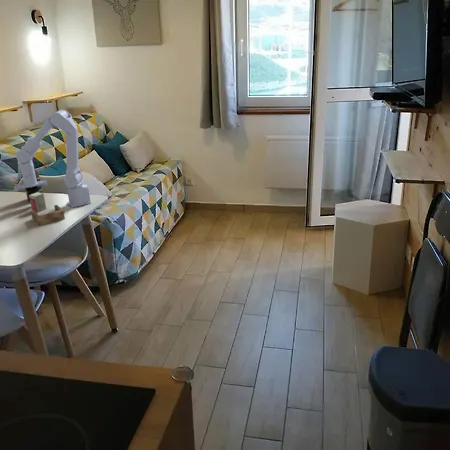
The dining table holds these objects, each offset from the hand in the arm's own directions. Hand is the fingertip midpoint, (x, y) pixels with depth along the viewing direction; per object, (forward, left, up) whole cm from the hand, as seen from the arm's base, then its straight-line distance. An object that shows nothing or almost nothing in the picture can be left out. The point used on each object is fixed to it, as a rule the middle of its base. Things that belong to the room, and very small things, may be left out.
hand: (34, 202), depth 230 cm
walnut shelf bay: (0, +22, -2) cm, 22 cm away
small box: (0, +7, -2) cm, 8 cm away
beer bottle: (-3, -11, -2) cm, 11 cm away
